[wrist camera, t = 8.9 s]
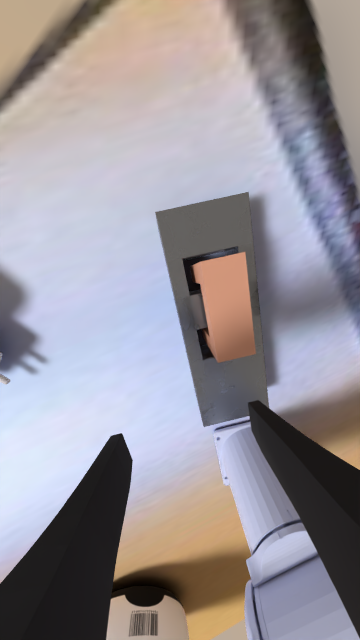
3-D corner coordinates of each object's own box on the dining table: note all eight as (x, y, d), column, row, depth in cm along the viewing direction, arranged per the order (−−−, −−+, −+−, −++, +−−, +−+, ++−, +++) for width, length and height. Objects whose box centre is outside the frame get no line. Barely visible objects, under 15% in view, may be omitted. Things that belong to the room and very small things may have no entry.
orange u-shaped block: (229, 331, 18) (255, 353, 13) (202, 337, 18) (218, 362, 13) (219, 259, 16) (245, 251, 11) (189, 266, 16) (200, 261, 11)
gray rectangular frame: (254, 391, 20) (269, 410, 18) (198, 405, 20) (203, 426, 17) (232, 208, 15) (248, 192, 12) (157, 224, 15) (155, 212, 12)
